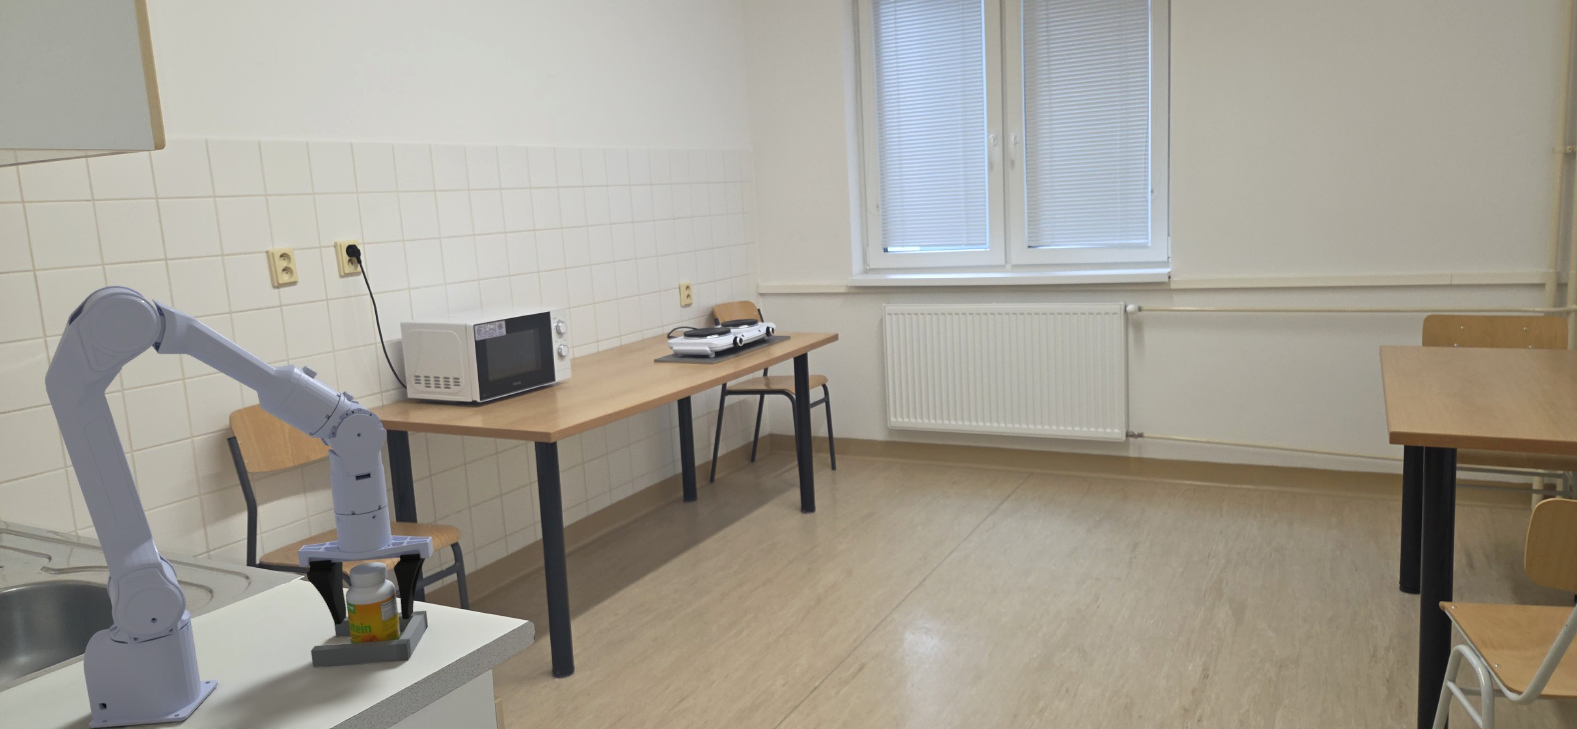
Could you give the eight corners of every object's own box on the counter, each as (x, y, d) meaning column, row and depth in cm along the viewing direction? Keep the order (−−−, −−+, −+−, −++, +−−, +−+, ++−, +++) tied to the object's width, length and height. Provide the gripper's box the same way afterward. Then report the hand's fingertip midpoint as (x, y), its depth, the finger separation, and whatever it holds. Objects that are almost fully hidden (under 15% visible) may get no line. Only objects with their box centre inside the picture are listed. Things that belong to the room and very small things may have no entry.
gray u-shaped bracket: (313, 667, 116) (310, 650, 116) (339, 632, 125) (337, 617, 125) (408, 659, 117) (406, 643, 117) (427, 626, 126) (426, 610, 126)
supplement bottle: (341, 653, 119) (331, 574, 118) (375, 633, 124) (366, 557, 123) (378, 659, 118) (369, 579, 116) (411, 639, 123) (402, 562, 121)
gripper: (434, 492, 123) (445, 599, 125) (308, 500, 121) (322, 608, 124) (419, 511, 116) (431, 624, 118) (285, 520, 114) (300, 634, 117)
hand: (374, 618), depth 121 cm, fingers open, 7 cm apart
